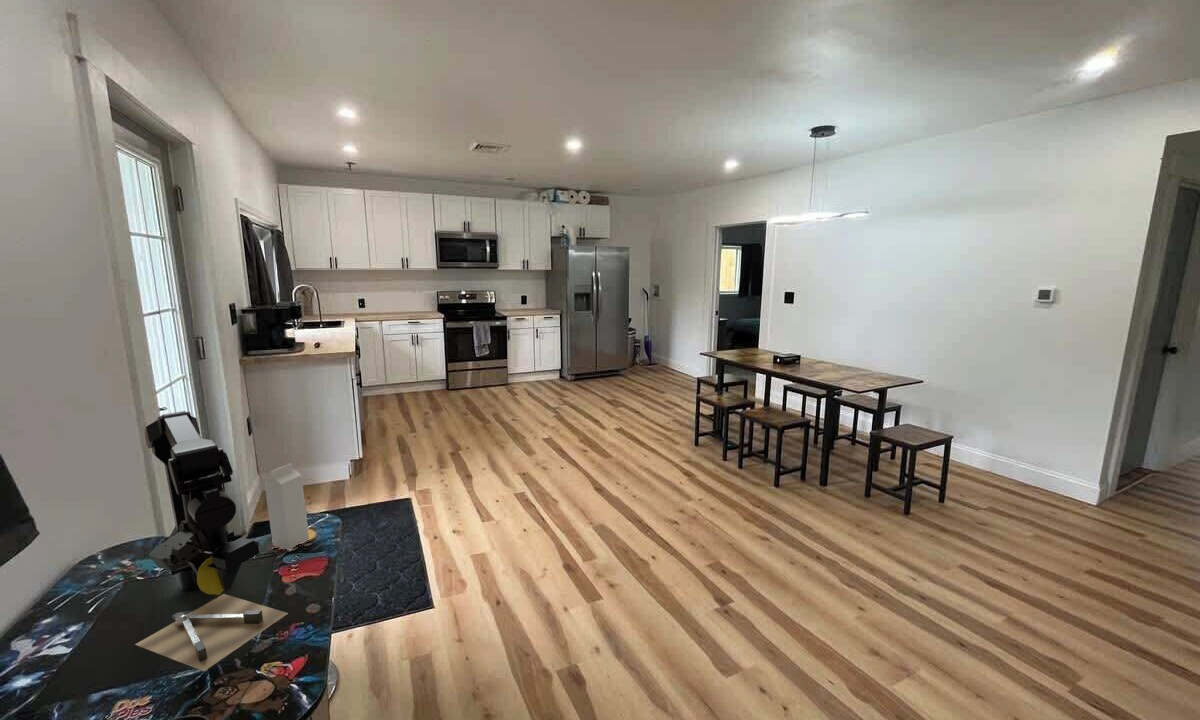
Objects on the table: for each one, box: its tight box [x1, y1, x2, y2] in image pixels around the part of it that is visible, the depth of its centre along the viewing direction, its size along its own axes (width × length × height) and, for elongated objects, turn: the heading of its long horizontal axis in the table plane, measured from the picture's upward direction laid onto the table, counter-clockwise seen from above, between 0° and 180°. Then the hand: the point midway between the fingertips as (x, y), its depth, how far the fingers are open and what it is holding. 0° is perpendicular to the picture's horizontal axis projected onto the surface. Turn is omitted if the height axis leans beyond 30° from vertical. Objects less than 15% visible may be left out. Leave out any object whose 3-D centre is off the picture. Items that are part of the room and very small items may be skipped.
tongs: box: [171, 610, 263, 662], centre depth 96 cm, size 17×12×2 cm
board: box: [134, 593, 289, 672], centre depth 96 cm, size 20×16×1 cm
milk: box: [264, 462, 310, 550], centre depth 128 cm, size 6×6×22 cm
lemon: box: [197, 556, 225, 596], centre depth 92 cm, size 6×6×8 cm
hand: (217, 587), depth 93 cm, fingers closed on lemon, 5 cm apart
